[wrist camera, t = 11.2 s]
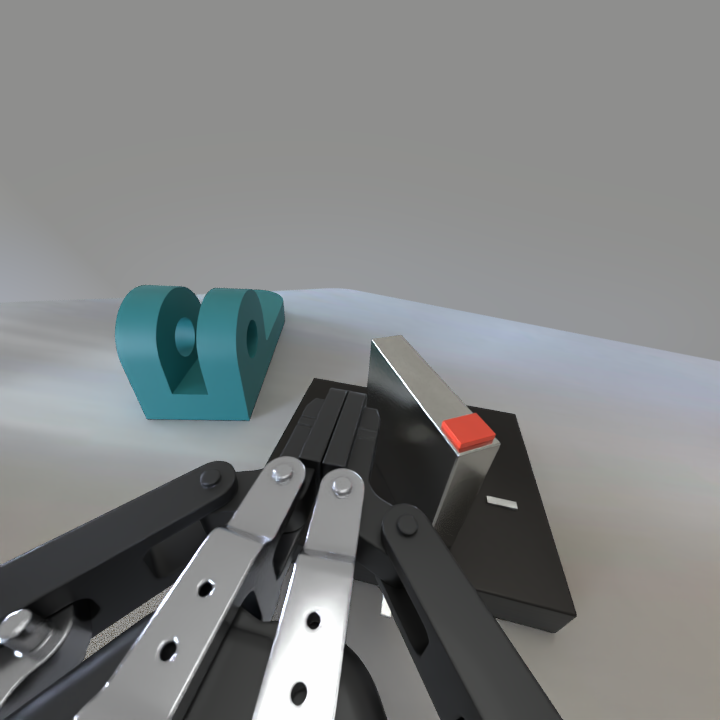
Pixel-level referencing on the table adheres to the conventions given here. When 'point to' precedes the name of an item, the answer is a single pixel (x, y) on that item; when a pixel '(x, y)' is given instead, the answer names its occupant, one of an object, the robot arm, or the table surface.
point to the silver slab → (426, 437)
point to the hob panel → (489, 529)
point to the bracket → (197, 349)
